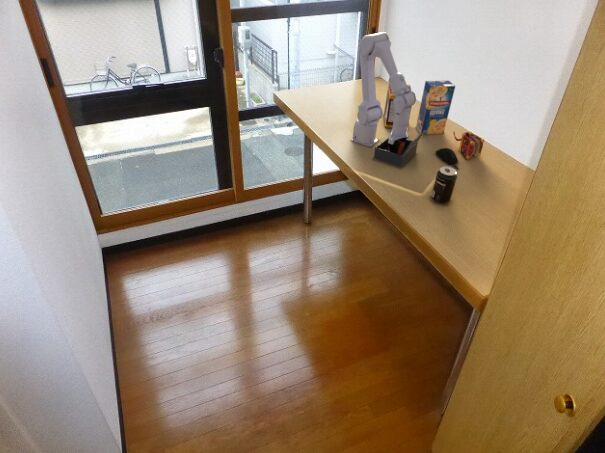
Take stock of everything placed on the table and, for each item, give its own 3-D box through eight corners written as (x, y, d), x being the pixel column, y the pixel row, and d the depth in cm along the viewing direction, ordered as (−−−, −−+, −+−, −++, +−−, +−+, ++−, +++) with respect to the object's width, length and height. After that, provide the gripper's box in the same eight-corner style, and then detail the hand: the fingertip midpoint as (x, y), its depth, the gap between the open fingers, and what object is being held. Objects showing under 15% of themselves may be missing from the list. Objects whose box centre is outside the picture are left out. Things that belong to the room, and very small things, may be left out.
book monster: (482, 157, 178) (455, 161, 176) (471, 148, 185) (445, 151, 183) (487, 134, 172) (460, 137, 170) (476, 125, 179) (449, 128, 177)
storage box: (389, 145, 185) (391, 134, 181) (415, 154, 179) (417, 142, 176) (373, 159, 175) (375, 147, 172) (400, 168, 170) (402, 156, 166)
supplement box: (404, 115, 210) (410, 84, 201) (407, 129, 198) (413, 96, 189) (383, 114, 211) (388, 83, 201) (385, 127, 199) (390, 95, 189)
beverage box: (443, 133, 196) (455, 86, 182) (420, 134, 194) (431, 86, 181) (437, 127, 201) (449, 80, 188) (415, 127, 200) (425, 81, 186)
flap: (425, 129, 171) (425, 130, 171) (417, 140, 176) (418, 141, 176) (410, 143, 162) (410, 143, 162) (402, 154, 166) (403, 155, 166)
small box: (387, 155, 177) (389, 142, 173) (391, 152, 179) (393, 139, 176) (398, 159, 175) (400, 146, 171) (402, 155, 177) (405, 142, 173)
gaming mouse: (450, 170, 170) (453, 161, 167) (432, 152, 181) (434, 144, 179) (464, 168, 171) (467, 159, 169) (446, 151, 182) (448, 142, 180)
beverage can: (446, 194, 156) (454, 165, 148) (452, 205, 150) (461, 176, 143) (428, 194, 155) (435, 165, 148) (433, 205, 150) (441, 176, 143)
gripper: (402, 131, 161) (396, 163, 170) (417, 119, 171) (411, 149, 179) (385, 126, 164) (380, 157, 173) (401, 114, 174) (396, 144, 182)
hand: (395, 153), depth 176 cm, fingers closed on small box, 4 cm apart
